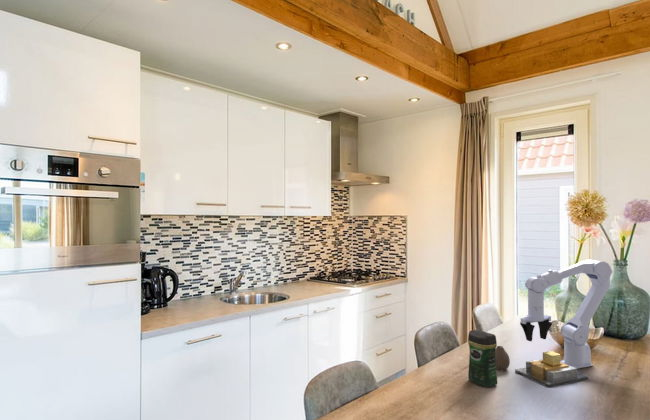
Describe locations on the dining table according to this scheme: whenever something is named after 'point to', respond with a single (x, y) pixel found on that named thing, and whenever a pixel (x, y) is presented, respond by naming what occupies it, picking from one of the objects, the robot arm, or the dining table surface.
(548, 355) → the rectangular block
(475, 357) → the coffee jar
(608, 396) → the dining table surface
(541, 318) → the robot arm
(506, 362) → the vase
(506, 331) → the dining table surface
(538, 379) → the rosette base
